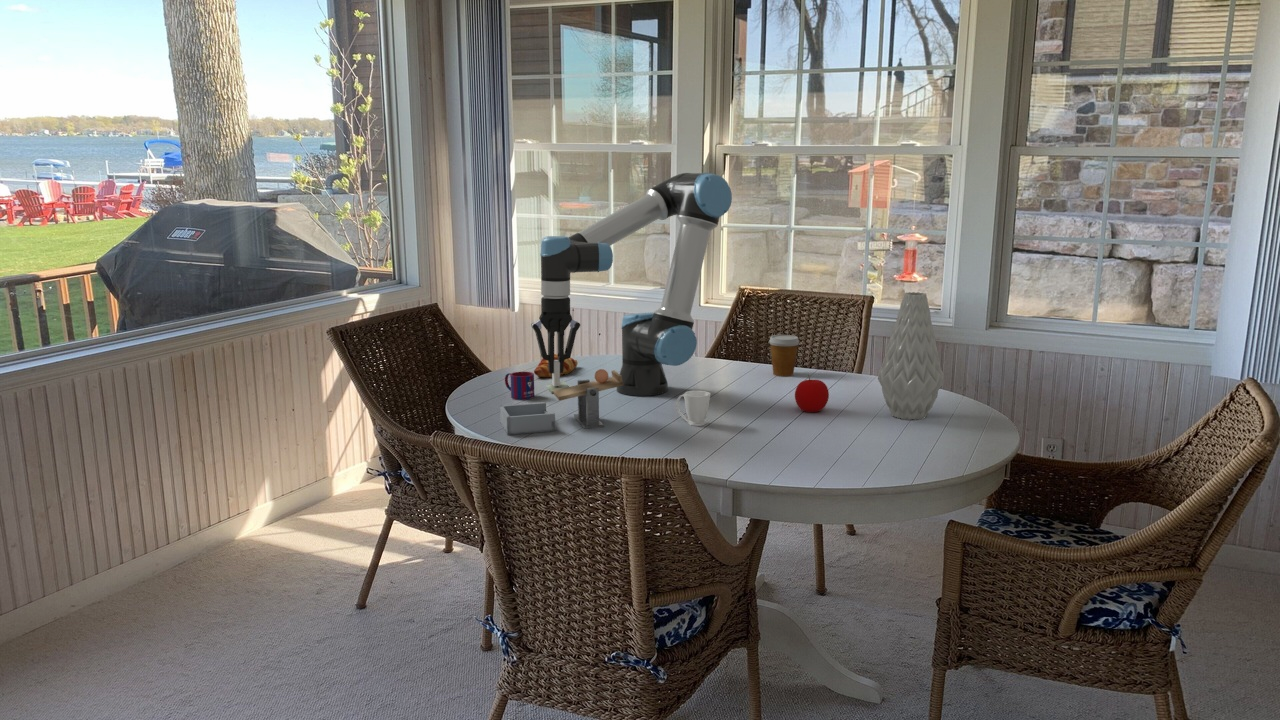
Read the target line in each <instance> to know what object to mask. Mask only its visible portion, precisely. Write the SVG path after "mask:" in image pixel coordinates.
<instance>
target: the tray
mask: <svg viewBox="0 0 1280 720" xmlns="http://www.w3.org/2000/svg"><path fill="white" fill-rule="evenodd" d="M499 421H500V425H501V426H502V428H503V430H504V431H505V433H506V434H507V436H511V435H512V436H513V435H523V434H524V435H525V434H537V433H547V432H549V433H551V432H555V431H556V413H554V412H551V413H550V412H548V411H547V403H546V402H544V401H543V402H536V403H534V402H532V403H522V404H520V403H519V404H507V405H506V404H505V405H499Z"/></svg>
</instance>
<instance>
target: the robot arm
mask: <svg viewBox="0 0 1280 720" xmlns="http://www.w3.org/2000/svg"><path fill="white" fill-rule="evenodd" d="M732 201H733V195H732V190H731V187H730V185H729V184H728V181H727V180H726V179H725V178H724V177H722V176H721V175H719V174H716V173H715V174H714V173H710V172H701V173H700V172H699V173H695V172H694V173H693V172H683V173H678V174H677V175H674V176H672V177H670V178H667V179H666V180H664V181H662V182H660V183H658V184H656V185H655V186H653V187H651V188H649V189H647V191H646V193H645V195H644V196H642V197H641V198H638V199H637V200H635V201H633V202H632V203H630V204H627V205H626V206H624V207H623V208H621V209H618V210H617V211H615V212H613V213H612V214H611V213H610V214H609V215H608V216H606V217H604V218H602V219H600V220H598V221H596V222H595V223H593V224H591V225H589V226H588V227H586V228H584V229H583V230H580V231H578V232H577V233H574V234H573V235H571V236H565V235H563V236H562V235H561V236H560V235H558V236H557V235H548V236H544V237H543V238H542V239H541V243H540V253H539V254H540V255H539V256H540V266H541V267H540V274H541V275H540V276H541V277H540V280H541V281H540V283H541V285H540V288H541V289H540V291H541V292H540V293H541V294H540V295H541V296H542V297H541V299H540V302H541V303H540V307H541V308H540V309H541V310H540V316H539V319H538V320H537V321H536V322H532V323H531V324H530V327H532V329H533V331H534V333H535V337H536V340H537V344H538V349H539V352H540V357H541V359H544V360H548V371H549V373H550V374H551V373H552V377H551V382H552V383H551V384H553V385H554V386H560V382H561V376H560V373H563V371H564V360H565V359H569V358H572V352H573V347H574V343H575V339H576V337H577V336H576V335H577V333H578V331H579V328H580V327H581V323H580V322H578V320H577V321H576V320H575V319H573V317H572V314H571V298H570V297H569V296H570V295H571V273H572V274H575V273H594V272H595V273H600V272H606V271H607V272H608V270H610V269H611V268H612V266H613V262H614V253H613V249H612V248H611V246H612V245H614V244H616V243H617V242H619V241H621V240H623V239H625V238H627V237H629V236H630V235H632V234H634V233H635V232H637V231H640V230H641V229H642V228H643V229H644V228H645V227H647V226H649V225H650V224H652V223H653V222H656V221H658V220H659V221H665V220H666V219H668V218H670V217H673V216H676V218H677V220H678V221H679V224H680V226H679V230H678V235H677V239H676V242H675V247H674V251H673V255H672V259H671V263H670V268H669V271H668V276H667V280H666V283H665V288H664V293H663V296H662V299H661V305H660V307H659V308H658V309H656V310H655V311H653V312H638V313H637V312H636V313H629V314H625V315H624V316H623V317H622V320H621V322H622V323H621V342H622V343H621V344H622V345H621V346H622V347H621V351H622V352H621V353H622V358H621V359H622V361H621V362H622V364H621V367H620V371H619V374H620V375H621V376H622V382H623V386H619V387H616V391H617V392H618V393H619V394H623V395H626V396H627V395H628V396H638V397H639V396H641V397H644V396H645V397H646V396H657V395H661V394H664V393H666V392H668V385H669V384H668V379H667V377H666V374H665V370H664V367H663V365H665V366H671V367H672V366H674V367H676V366H681V365H683V364H685V363H686V362H688V361H689V360H690V359H691V358H692V357H693V356H694V353H695V352H696V349H697V345H698V343H697V342H698V340H697V336H696V333H695V331H693V329H694V323H695V321H694V319H693V317H692V315H691V313H692V309H693V306H694V301H695V298H696V297H695V296H696V292H697V288H698V284H699V280H700V277H701V274H702V268H703V263H704V260H705V257H706V256H705V255H706V252H707V248H708V244H709V238H710V236H711V235H710V234H711V232H712V231H713V230H714V229H716V228H717V227H718V224H719V221H720V218H721V217H722V216H724V215H725V214H726V213H728V211H729V210H730V208H731V206H732ZM542 326H543V327H544V329H545V330H546V331H547V350H546V346H545V342H544V337H543V333H542ZM568 326H570V329H569V333H568V338H567V341H566V346H565V331H566V330H567V328H568ZM555 333H556V334H555ZM555 335H556V336H557V343H556V344H557V348H556V349H557V354H558V360H554V354H555Z"/></svg>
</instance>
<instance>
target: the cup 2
mask: <svg viewBox="0 0 1280 720" xmlns="http://www.w3.org/2000/svg"><path fill="white" fill-rule="evenodd" d="M711 394H712V393H711V392H709V391H706V390H689V391H685V392H684V393H683V394H680V395H679V396H678V397H677V399H676V401H675V402H676V403H675V407H676V411H677V413H678V415H679V416H680V417H681V418H682V419H683V421H686V422H687V423H688V425H690V426H691V427H692V426H693V427H695V426H696V427H701V426H705V425H706V419H707V415H708V412H709V407H710V406H709V405H710V400H711V396H712V395H711ZM682 397H683V398H684V404H685V405H684V407H685V412H686V416H687V417H686V416H685V415H684V414H683V413H682V410H680V405H679V404H680V400H681V399H682Z"/></svg>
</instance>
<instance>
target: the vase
mask: <svg viewBox="0 0 1280 720" xmlns="http://www.w3.org/2000/svg"><path fill="white" fill-rule="evenodd" d="M877 380H878V382H879V384H880V386H881V391H882V396H883V398H884V402H885V404H886V405H887V408H888V410H889V413H890V415H891V416H892V417H893V416H894V418H896V417H897V418H896V419H900V418H901V419H900V420H905V419H919V420H923V419H922V418H924V417H925V418H927V416H928V414H929V412H930V410H931V408H933V406H934V403H935V402H936V399H937V398H938V394H939V390H940V388H941V387H943V385H944V372H943V370H942V368H941V362H940V356H939V351H938V347H937V343H936V337H935V332H934V327H933V323H932V317H931V310H930V306H929V301H928V297H927V293H925V292H915V291H913V292H911V291H909V292H904V293H903V297H902V300H901V302H900V308H899V310H898V312H897V318H896V321H895V324H894V327H893V329H892V333H891V335H890V338H889V341H888V345H887V347H886V349H885V355H884V358H883V362H882V364H881V367H880V368H879V371H878V375H877ZM925 418H924V419H925Z"/></svg>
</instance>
